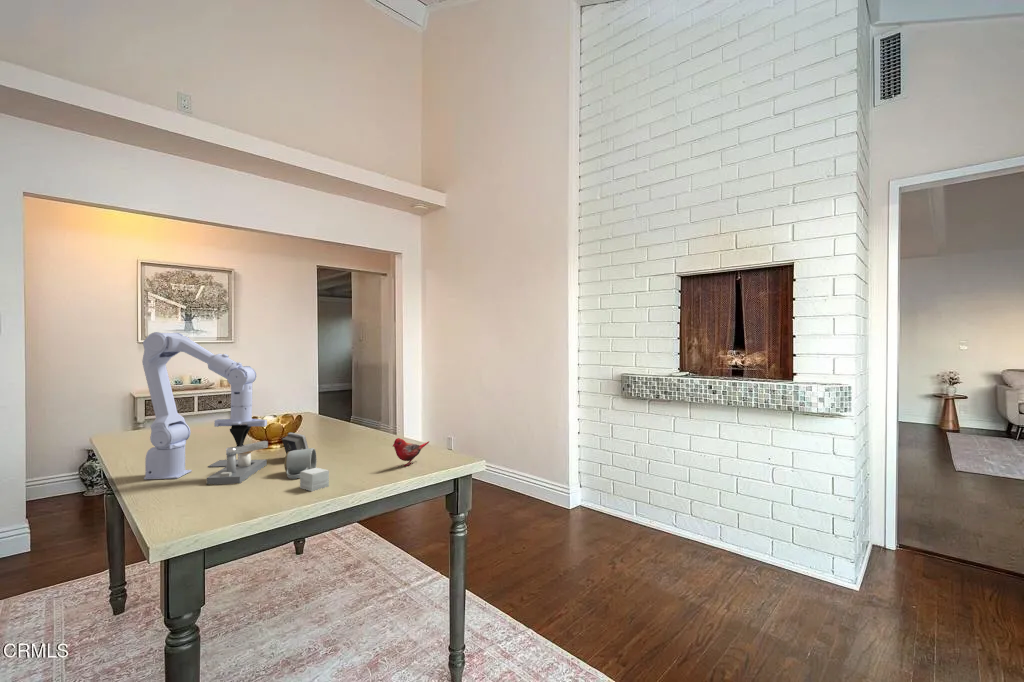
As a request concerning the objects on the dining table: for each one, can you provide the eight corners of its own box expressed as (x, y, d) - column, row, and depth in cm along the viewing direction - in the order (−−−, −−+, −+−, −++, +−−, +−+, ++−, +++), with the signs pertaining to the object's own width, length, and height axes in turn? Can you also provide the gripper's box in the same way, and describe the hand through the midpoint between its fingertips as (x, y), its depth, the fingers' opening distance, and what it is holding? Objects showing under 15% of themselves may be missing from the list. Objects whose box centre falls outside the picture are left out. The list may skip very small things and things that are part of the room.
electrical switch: (311, 459, 165) (309, 433, 164) (298, 464, 160) (295, 437, 159) (296, 456, 170) (293, 430, 169) (282, 460, 165) (279, 434, 165)
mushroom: (232, 473, 148) (232, 450, 148) (239, 469, 152) (239, 447, 152) (249, 472, 148) (249, 450, 148) (255, 468, 153) (255, 447, 153)
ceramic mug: (289, 470, 151) (289, 446, 151) (317, 469, 152) (316, 445, 152) (280, 481, 140) (280, 455, 140) (309, 479, 142) (309, 454, 142)
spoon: (224, 454, 141) (224, 448, 141) (263, 446, 151) (263, 440, 151) (229, 455, 140) (229, 449, 140) (268, 447, 150) (268, 441, 150)
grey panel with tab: (206, 484, 136) (206, 459, 136) (237, 466, 156) (237, 444, 156) (239, 483, 137) (239, 458, 137) (266, 465, 157) (266, 443, 157)
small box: (329, 486, 135) (329, 469, 135) (311, 492, 130) (311, 474, 130) (317, 483, 138) (317, 466, 138) (299, 488, 133) (299, 471, 133)
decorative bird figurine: (389, 469, 152) (389, 439, 152) (426, 458, 167) (426, 430, 167) (395, 471, 150) (395, 440, 150) (432, 459, 165) (432, 431, 165)
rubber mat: (207, 467, 154) (207, 466, 154) (219, 461, 162) (219, 460, 162) (233, 466, 155) (233, 465, 155) (244, 460, 163) (244, 459, 163)
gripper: (209, 407, 140) (208, 452, 140) (261, 407, 142) (259, 452, 142) (221, 404, 147) (220, 447, 147) (270, 404, 149) (269, 447, 149)
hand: (240, 449), depth 145 cm, fingers closed, pressing on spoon
